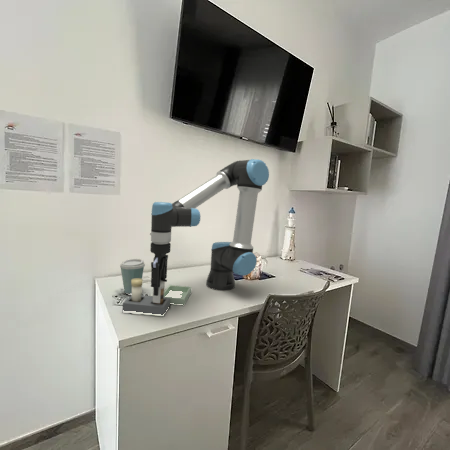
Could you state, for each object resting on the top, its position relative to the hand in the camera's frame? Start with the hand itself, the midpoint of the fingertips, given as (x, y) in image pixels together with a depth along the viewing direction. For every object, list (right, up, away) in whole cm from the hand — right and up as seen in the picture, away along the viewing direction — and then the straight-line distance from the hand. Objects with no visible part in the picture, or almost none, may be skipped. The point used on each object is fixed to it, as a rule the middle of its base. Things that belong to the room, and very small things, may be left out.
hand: (158, 299), depth 104 cm
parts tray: (+4, -3, +14) cm, 15 cm away
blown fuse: (0, -5, +1) cm, 5 cm away
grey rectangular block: (-5, -4, +1) cm, 6 cm away
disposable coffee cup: (-17, -2, +17) cm, 24 cm away
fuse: (-9, -4, +1) cm, 10 cm away
